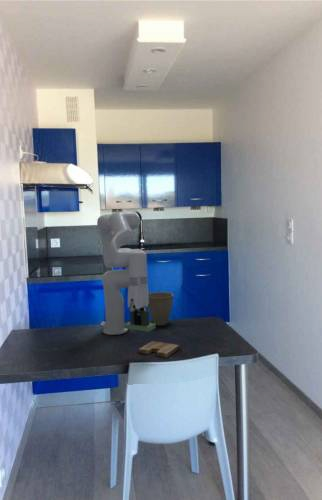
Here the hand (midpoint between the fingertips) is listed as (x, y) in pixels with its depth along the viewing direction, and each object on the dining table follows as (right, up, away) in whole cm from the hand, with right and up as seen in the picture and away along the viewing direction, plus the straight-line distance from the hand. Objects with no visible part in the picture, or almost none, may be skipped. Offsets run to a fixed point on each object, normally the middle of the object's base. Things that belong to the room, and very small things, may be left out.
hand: (139, 323), depth 190 cm
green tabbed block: (+1, -2, +1) cm, 3 cm away
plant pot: (+9, -9, +53) cm, 54 cm away
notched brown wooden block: (+8, -14, +10) cm, 19 cm away
